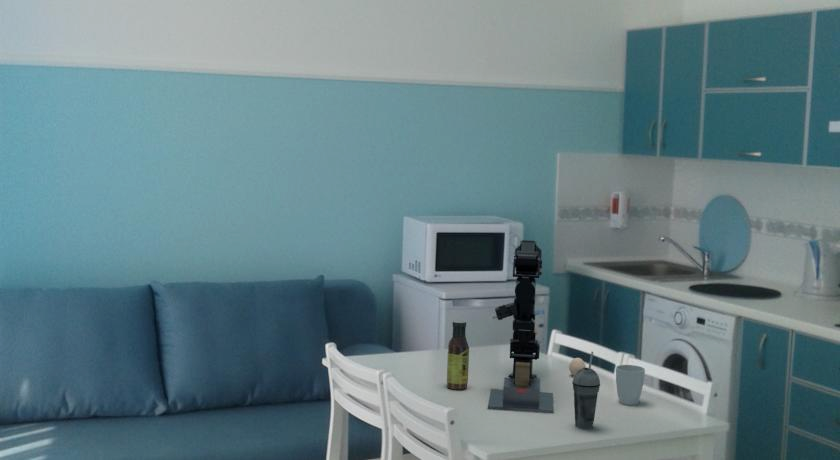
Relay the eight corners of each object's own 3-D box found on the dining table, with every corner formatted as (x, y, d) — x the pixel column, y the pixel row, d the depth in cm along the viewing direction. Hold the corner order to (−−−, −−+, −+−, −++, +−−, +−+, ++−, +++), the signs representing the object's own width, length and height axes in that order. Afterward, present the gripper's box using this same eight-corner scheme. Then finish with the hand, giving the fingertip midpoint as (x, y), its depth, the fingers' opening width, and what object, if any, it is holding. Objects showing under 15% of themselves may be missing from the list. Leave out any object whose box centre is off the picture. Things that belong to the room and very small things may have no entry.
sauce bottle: (465, 391, 293) (468, 324, 291) (444, 389, 294) (447, 323, 292) (469, 385, 300) (471, 320, 297) (448, 383, 301) (450, 318, 298)
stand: (490, 391, 294) (491, 373, 293) (552, 395, 292) (553, 377, 291) (487, 409, 276) (488, 389, 275) (553, 413, 274) (554, 393, 273)
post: (514, 396, 286) (515, 361, 285) (528, 397, 286) (530, 362, 284) (513, 400, 282) (515, 365, 281) (528, 401, 282) (530, 366, 280)
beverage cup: (567, 422, 267) (570, 348, 264) (594, 422, 267) (598, 348, 265) (573, 430, 259) (577, 354, 257) (601, 430, 260) (605, 355, 258)
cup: (644, 400, 290) (646, 366, 288) (641, 408, 282) (643, 373, 281) (616, 397, 292) (618, 363, 291) (612, 404, 285) (614, 369, 283)
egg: (573, 378, 311) (574, 360, 311) (565, 374, 316) (566, 356, 315) (588, 377, 313) (589, 359, 312) (580, 373, 318) (581, 355, 317)
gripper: (498, 288, 300) (496, 340, 302) (495, 299, 282) (493, 354, 283) (536, 290, 299) (533, 342, 301) (535, 301, 280) (533, 356, 282)
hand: (522, 348), depth 292 cm, fingers open, 9 cm apart
